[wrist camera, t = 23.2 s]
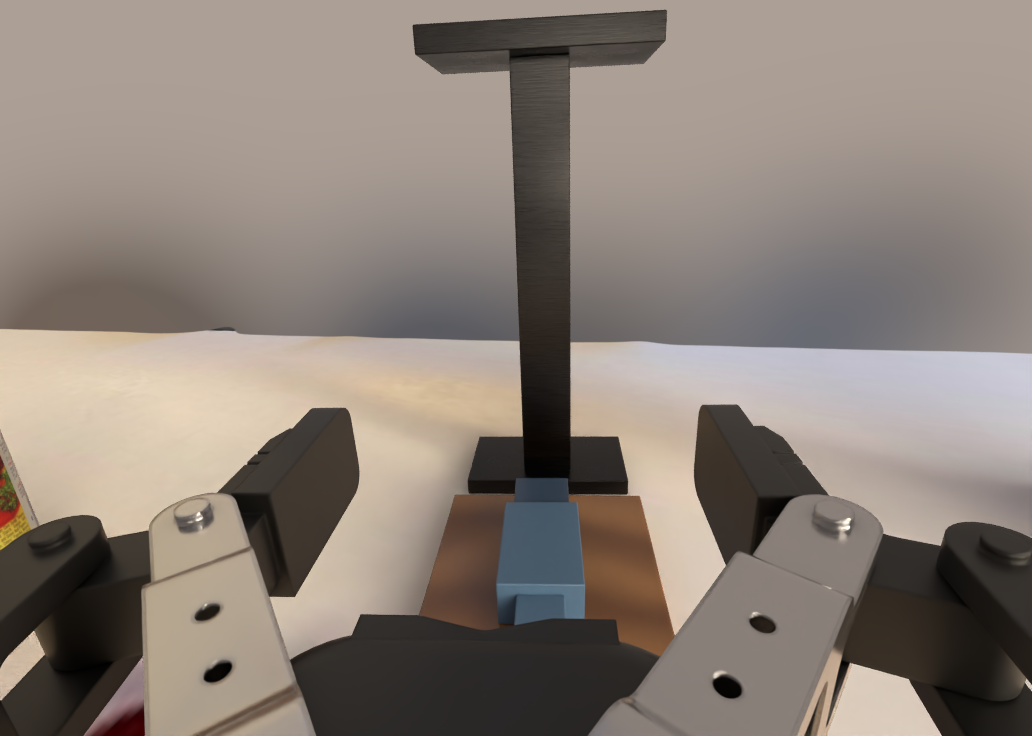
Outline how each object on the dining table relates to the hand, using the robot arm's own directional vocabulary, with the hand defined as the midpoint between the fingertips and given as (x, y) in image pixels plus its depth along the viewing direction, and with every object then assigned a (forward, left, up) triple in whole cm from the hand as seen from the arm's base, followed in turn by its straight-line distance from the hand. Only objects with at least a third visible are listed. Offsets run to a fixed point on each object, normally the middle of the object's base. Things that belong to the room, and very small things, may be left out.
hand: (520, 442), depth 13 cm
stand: (-16, -23, -18) cm, 33 cm away
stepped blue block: (-6, -9, -16) cm, 20 cm away
